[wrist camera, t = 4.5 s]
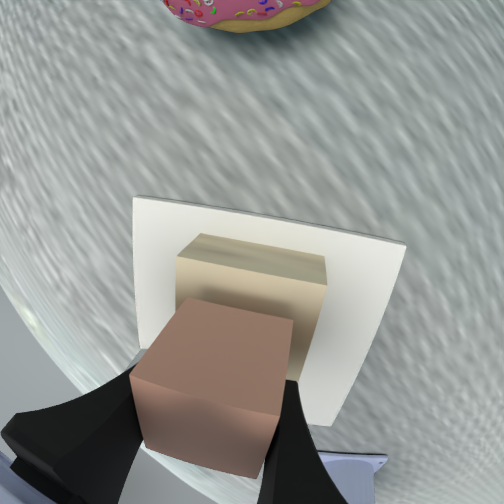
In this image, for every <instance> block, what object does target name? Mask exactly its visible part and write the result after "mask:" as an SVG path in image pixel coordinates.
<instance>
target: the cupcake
mask: <svg viewBox="0 0 504 504" xmlns="http://www.w3.org/2000/svg"><path fill="white" fill-rule="evenodd" d="M162 2H163V3H164V4H165V5H166V6H167V8H168V9H169V10H170V11H171V12H172V13H173V14H174V15H175V16H176V17H178V18H179V19H181V20H183V21H185V22H187V23H189V24H192V25H196V26H200V27H211V28H215V29H220V30H224V31H229V32H235V33H246V32H252V31H261V30H272V29H278V28H282V27H285V26H288V25H290V24H292V23H294V22H296V21H298V20H300V19H302V18H304V17H305V16H307V15H309V14H310V13H312V12H314V11H316V10H318V9H320V8H323V7H325V6H326V5H328V4H329V3H330V2H331V0H162Z"/></svg>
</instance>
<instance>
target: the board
mask: <svg viewBox="0 0 504 504" xmlns="http://www.w3.org/2000/svg"><path fill="white" fill-rule="evenodd" d="M200 233H203V234H208V235H214V236H219V237H225V238H230V239H236V240H241V241H246V242H252V243H257V244H263V245H268V246H273V247H279V248H284V249H289V250H295V251H300V252H305V253H311V254H316V255H321V256H324V258H325V267H326V276H327V289H326V293H325V297H324V300H323V304H322V307H321V311H320V314H319V318H318V321H317V325H316V328H315V331H314V335H313V338H312V341H311V345H310V348H309V351H308V354H307V357H306V360H305V363H304V366H303V370H302V373H301V376H300V378H299V381H298V387H299V394H300V399H301V404H302V408H303V412H304V416H305V419H306V422H307V424H313V425H321V426H330V427H331V425H332V423H333V422H334V420H335V418H336V416H337V414H338V412H339V411H340V409H341V407H342V405H343V403H344V401H345V399H346V397H347V395H348V393H349V391H350V389H351V387H352V385H353V383H354V381H355V379H356V377H357V375H358V373H359V371H360V368H361V366H362V364H363V362H364V360H365V357H366V355H367V353H368V351H369V348H370V346H371V344H372V341H373V339H374V337H375V334H376V332H377V329H378V327H379V324H380V322H381V319H382V317H383V314H384V312H385V309H386V306H387V304H388V301H389V298H390V295H391V293H392V290H393V287H394V284H395V281H396V278H397V275H398V272H399V269H400V266H401V263H402V260H403V257H404V253H405V250H406V247H407V246H406V245H405V244H404V243H403V242H399V241H394V240H390V239H385V238H381V237H376V236H371V235H366V234H362V233H357V232H352V231H347V230H342V229H337V228H332V227H327V226H322V225H317V224H311V223H306V222H301V221H296V220H290V219H285V218H279V217H274V216H268V215H262V214H257V213H251V212H245V211H239V210H233V209H227V208H221V207H214V206H208V205H202V204H195V203H189V202H182V201H175V200H168V199H161V198H154V197H147V196H140V195H137V196H135V197H133V263H134V284H135V300H136V312H137V324H138V334H139V343H140V350H141V349H148V348H149V347H150V346H151V344H152V343H153V342H154V340H155V339H156V338H157V336H158V335H159V334H160V332H161V331H162V329H163V328H164V327H165V325H166V324H167V323H168V321H169V320H170V319H171V317H172V316H173V315H174V313H175V281H176V256H177V255H178V254H179V253H180V252H181V251H182V250H183V249H184V248H185V247H186V246H187V245H188V244H189V243H190V242H191V241H193V240H194V239H195V238H196V237H197V236H198V235H199V234H200Z"/></svg>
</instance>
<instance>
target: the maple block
mask: <svg viewBox="0 0 504 504" xmlns="http://www.w3.org/2000/svg"><path fill="white" fill-rule="evenodd" d="M326 289H327V276H326V267H325V258H324V256H321V255H316V254H311V253H305V252H300V251H295V250H289V249H284V248H279V247H273V246H268V245H263V244H257V243H252V242H246V241H241V240H236V239H230V238H225V237H219V236H214V235H208V234H203V233H200V234H199V235H198V236H197V237H196V238H195V239H194V240H193V241H191V242H190V243H189V244H188V245H187V246H186V247H185V248H184V249H183V250H182V251H181V252H180V253H179V254H178V255H177V256H176V281H175V312H176V311H177V309H178V308H179V307H180V305H181V304H182V303H183V302H184V300H185V299H186V298H187V297H189V298H193V299H198V300H202V301H206V302H211V303H215V304H219V305H224V306H228V307H233V308H237V309H242V310H247V311H251V312H256V313H261V314H266V315H271V316H276V317H281V318H286V319H291V320H293V328H292V336H291V344H290V352H289V359H288V366H287V373H286V379H287V380H293V381H297V383H298V381H299V378H300V376H301V373H302V370H303V366H304V363H305V360H306V357H307V354H308V351H309V348H310V345H311V341H312V338H313V335H314V331H315V328H316V325H317V321H318V318H319V314H320V311H321V307H322V304H323V300H324V297H325V293H326Z"/></svg>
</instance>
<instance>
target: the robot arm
mask: <svg viewBox="0 0 504 504" xmlns="http://www.w3.org/2000/svg"><path fill="white" fill-rule="evenodd" d="M137 363H138V362H137ZM137 363H136V364H135V365H133V366H132V367H130V368H129V369H128V370H126V371H125V372H123V373H122V374H120V375H119V376H117V377H116V378H114V379H112V380H111V381H109V382H107V383H106V384H104V385H103V386H101V387H99V388H97V389H95V390H93V391H91V392H89V393H87V394H85V395H83V396H81V397H78V398H76V399H74V400H71V401H68V402H66V403H62V404H60V405H56V406H52V407H49V408H45V409H41V410H35V411H29V412H22V413H16V414H15V415H14V416H13V418H12V419H11V420H10V421H9V422H8V423H7V425H6V426H5V427H4V428H3V429H2V431H1V436H2V438H3V439H4V440H5V442H6V443H7V445H8V446H9V447H10V448H11V449H12V451H13V452H14V453H15V454H16V455H17V458H16V459H15V461H14V462H13V461H11V459H9V458H8V457H7V456H6V455H5V454H3V453H2V452H1V451H0V504H118V501H119V498H120V495H121V492H122V489H123V487H124V484H125V481H126V478H127V475H128V473H129V471H130V468H131V465H132V463H133V460H134V458H135V456H136V454H137V451H138V449H139V447H140V445H141V443H142V441H143V435H142V432H141V428H140V424H139V419H138V415H137V411H136V406H135V402H134V397H133V392H132V387H131V382H130V377H129V374H130V373H131V372H132V370H133V369H134V367H135V366H136V365H137ZM387 460H388V456H386V455H353V454H337V453H325V452H317V450H316V447H315V445H314V442H313V440H312V437H311V435H310V432H309V429H308V426H307V422H306V419H305V416H304V412H303V408H302V404H301V399H300V394H299V387H298V383H297V381H293V380H287V379H286V380H285V387H284V394H283V400H282V407H281V413H280V418H279V421H278V424H277V426H276V429H275V432H274V435H273V438H272V440H271V443H270V446H269V449H268V451H267V454H266V457H265V462H264V472H263V479H262V485H261V489H260V493H259V498H258V502H257V504H375V488H374V474H375V473H376V472H377V471H378V470H379V469H380V468H381V467H382V466H383V465H384V463H385V462H386V461H387Z"/></svg>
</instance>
